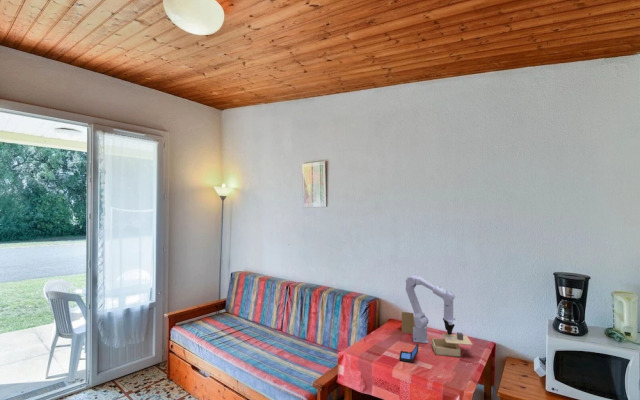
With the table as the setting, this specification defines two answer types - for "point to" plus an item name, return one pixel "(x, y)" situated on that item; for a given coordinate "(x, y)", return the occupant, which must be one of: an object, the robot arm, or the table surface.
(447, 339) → the carton lid
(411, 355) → the handheld game console
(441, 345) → the carton
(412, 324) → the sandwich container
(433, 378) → the table surface
